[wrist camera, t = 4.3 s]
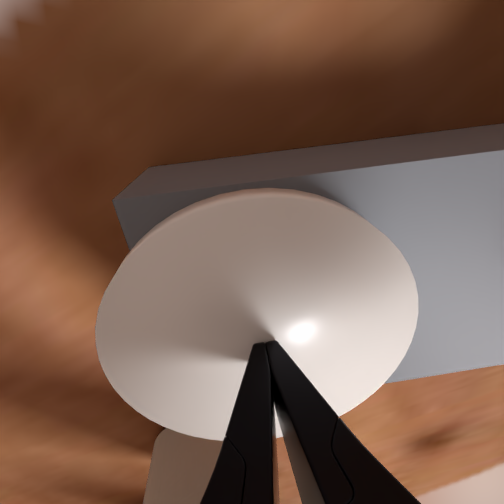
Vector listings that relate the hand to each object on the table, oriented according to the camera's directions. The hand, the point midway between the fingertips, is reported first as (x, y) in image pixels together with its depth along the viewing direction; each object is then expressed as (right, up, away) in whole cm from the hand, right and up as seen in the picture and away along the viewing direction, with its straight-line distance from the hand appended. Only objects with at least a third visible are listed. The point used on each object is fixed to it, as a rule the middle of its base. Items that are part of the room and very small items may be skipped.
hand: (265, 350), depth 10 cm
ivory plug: (-1, +3, +6) cm, 6 cm away
